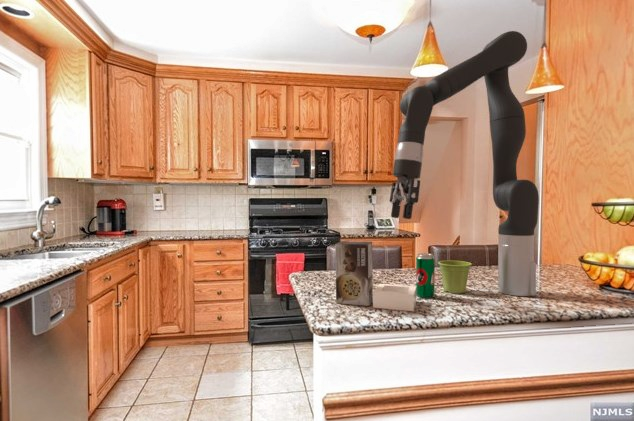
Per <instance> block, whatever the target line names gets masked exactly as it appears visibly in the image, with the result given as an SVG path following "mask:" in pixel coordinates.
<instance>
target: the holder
mask: <svg viewBox="0 0 634 421" xmlns="http://www.w3.org/2000/svg"><path fill="white" fill-rule="evenodd" d="M417 297H418V296H417V286H416V285H402V284H401V285H400V284H388V283H379V284H378V285H377V286H376V287H375V289H373V301H372V308H374V309H376V308H377V309H385V310H395V311H406V312H407V311H408V312H414V311H415V309H416V308H415V307H416V304H417Z"/></svg>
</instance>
